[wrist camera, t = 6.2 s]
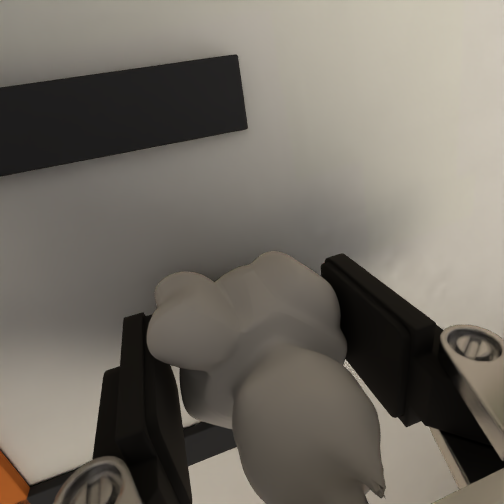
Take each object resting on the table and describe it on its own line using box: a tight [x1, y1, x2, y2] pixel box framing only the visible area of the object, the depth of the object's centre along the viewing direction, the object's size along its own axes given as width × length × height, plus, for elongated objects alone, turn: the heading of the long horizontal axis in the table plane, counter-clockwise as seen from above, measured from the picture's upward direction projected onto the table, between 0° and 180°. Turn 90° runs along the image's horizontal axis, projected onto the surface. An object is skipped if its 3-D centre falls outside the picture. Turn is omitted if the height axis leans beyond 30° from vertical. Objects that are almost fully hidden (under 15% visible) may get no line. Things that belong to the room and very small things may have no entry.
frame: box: [0, 54, 248, 504], centre depth 11 cm, size 15×12×1 cm
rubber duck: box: [147, 251, 386, 504], centre depth 8 cm, size 5×7×8 cm
